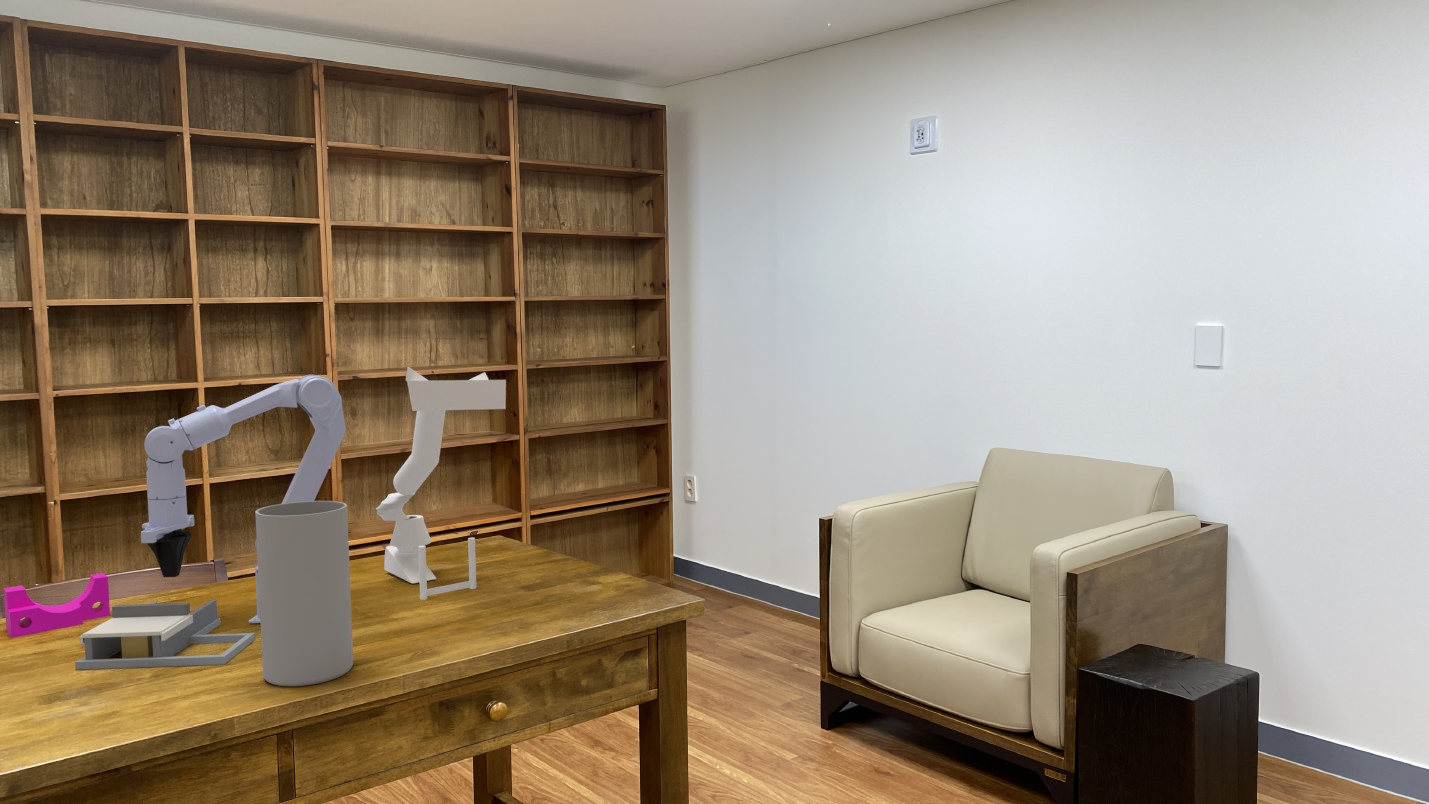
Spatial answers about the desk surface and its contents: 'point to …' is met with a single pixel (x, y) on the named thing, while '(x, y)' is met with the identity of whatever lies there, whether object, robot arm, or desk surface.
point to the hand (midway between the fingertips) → (171, 576)
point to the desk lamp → (425, 456)
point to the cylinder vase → (304, 592)
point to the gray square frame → (168, 645)
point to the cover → (143, 621)
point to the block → (137, 646)
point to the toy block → (54, 609)
